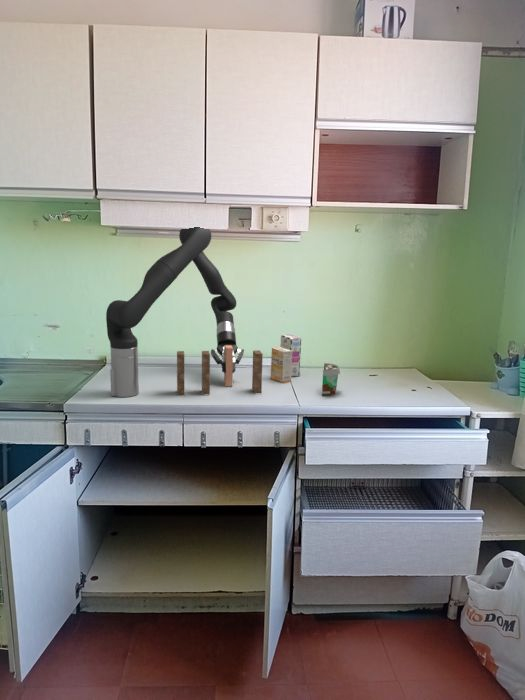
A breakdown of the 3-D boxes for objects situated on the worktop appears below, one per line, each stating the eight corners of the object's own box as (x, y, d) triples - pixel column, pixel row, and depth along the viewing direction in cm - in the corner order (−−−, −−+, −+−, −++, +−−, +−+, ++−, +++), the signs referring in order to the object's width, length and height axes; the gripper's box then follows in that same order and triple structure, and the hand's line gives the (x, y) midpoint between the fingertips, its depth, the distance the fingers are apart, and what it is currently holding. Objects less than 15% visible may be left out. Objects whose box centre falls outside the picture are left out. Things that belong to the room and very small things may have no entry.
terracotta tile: (225, 386, 189) (226, 348, 186) (224, 382, 194) (224, 345, 191) (232, 386, 189) (233, 348, 186) (230, 382, 195) (231, 345, 192)
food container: (338, 398, 179) (340, 371, 177) (321, 396, 179) (323, 370, 177) (338, 388, 190) (340, 363, 188) (322, 387, 191) (324, 362, 189)
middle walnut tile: (202, 395, 177) (202, 354, 174) (201, 390, 183) (201, 350, 180) (209, 394, 178) (209, 354, 175) (208, 390, 183) (208, 350, 180)
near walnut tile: (177, 395, 176) (177, 354, 173) (177, 391, 181) (176, 351, 178) (184, 395, 176) (184, 354, 173) (184, 390, 182) (183, 351, 179)
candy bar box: (300, 376, 207) (301, 338, 204) (289, 377, 205) (290, 338, 202) (289, 370, 217) (290, 333, 214) (278, 371, 215) (280, 334, 212)
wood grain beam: (254, 393, 181) (255, 353, 178) (252, 389, 186) (253, 350, 183) (261, 393, 181) (262, 353, 178) (258, 389, 187) (259, 350, 184)
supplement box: (269, 378, 202) (270, 347, 200) (279, 377, 205) (280, 346, 203) (282, 383, 196) (283, 351, 193) (291, 381, 199) (293, 350, 196)
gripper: (209, 329, 194) (211, 367, 184) (244, 329, 196) (248, 367, 187) (208, 340, 200) (210, 377, 190) (242, 340, 202) (245, 377, 193)
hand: (229, 372), depth 189 cm, fingers closed on terracotta tile, 2 cm apart
